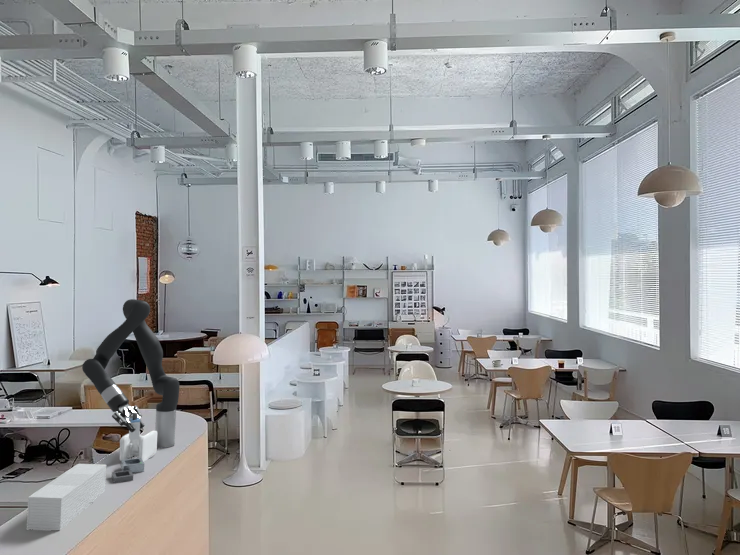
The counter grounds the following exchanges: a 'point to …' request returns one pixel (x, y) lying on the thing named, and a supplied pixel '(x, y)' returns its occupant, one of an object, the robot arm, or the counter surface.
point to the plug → (136, 424)
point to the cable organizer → (139, 446)
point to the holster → (122, 476)
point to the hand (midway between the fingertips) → (138, 429)
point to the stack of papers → (65, 497)
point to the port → (133, 465)
